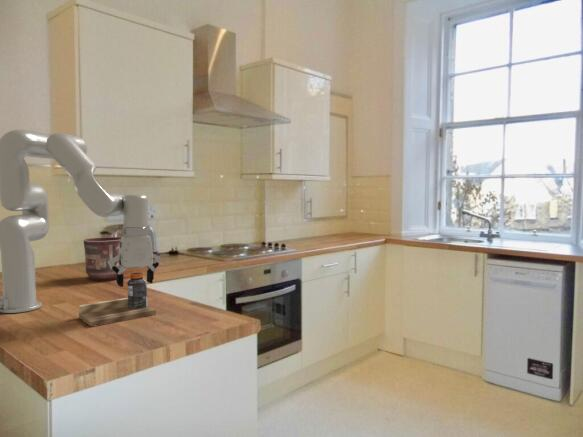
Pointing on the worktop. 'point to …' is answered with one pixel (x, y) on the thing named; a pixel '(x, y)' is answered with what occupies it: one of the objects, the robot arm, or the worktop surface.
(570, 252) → the worktop surface
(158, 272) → the worktop surface
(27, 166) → the robot arm
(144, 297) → the pill bottle
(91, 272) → the pottery
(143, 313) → the board
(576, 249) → the worktop surface
